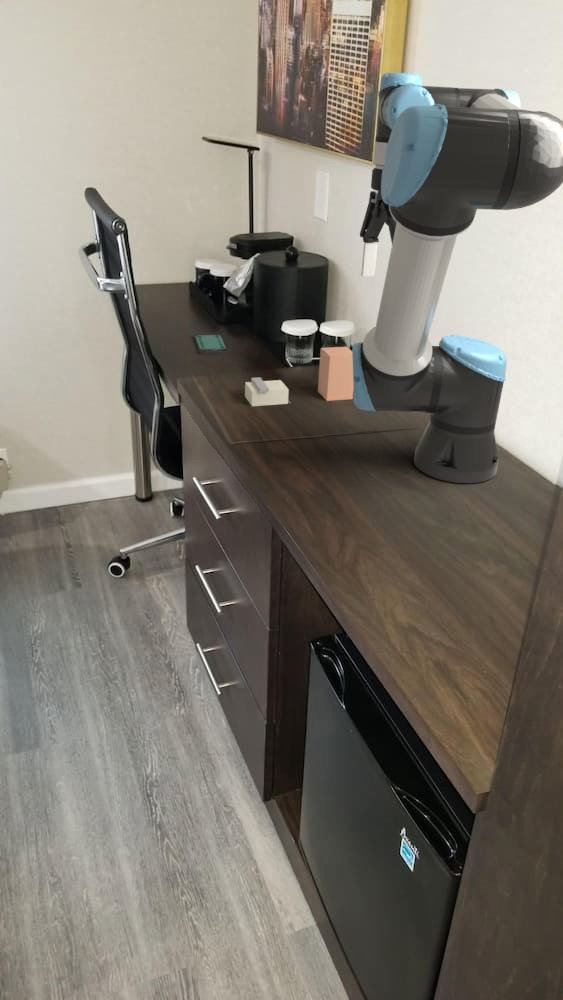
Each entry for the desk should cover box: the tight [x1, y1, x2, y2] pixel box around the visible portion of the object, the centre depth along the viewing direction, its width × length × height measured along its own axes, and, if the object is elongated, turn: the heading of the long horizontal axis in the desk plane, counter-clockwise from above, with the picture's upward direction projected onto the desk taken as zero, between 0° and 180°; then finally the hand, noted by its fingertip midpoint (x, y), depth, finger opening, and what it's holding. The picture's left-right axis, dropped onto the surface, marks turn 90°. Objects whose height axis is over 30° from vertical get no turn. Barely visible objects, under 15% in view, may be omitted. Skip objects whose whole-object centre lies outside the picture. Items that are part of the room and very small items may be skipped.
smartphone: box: [193, 333, 229, 355], centre depth 200 cm, size 7×1×15 cm
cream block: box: [244, 377, 292, 407], centre depth 163 cm, size 7×9×5 cm
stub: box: [317, 346, 354, 402], centre depth 165 cm, size 6×6×10 cm
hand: (380, 283), depth 151 cm, fingers open, 13 cm apart
